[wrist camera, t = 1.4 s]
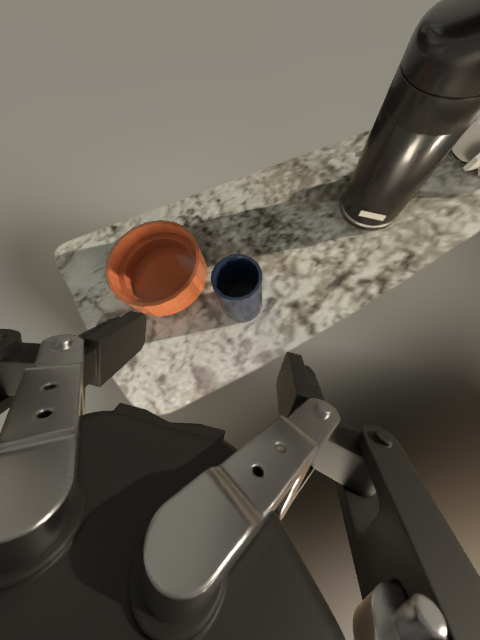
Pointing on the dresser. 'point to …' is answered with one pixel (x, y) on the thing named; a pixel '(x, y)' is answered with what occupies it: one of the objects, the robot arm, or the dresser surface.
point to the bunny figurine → (470, 147)
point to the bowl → (157, 268)
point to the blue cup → (238, 286)
